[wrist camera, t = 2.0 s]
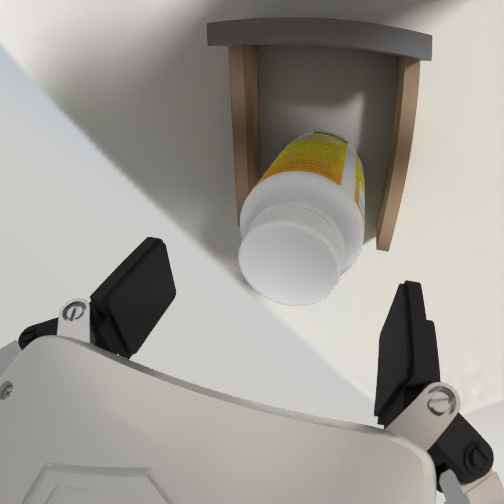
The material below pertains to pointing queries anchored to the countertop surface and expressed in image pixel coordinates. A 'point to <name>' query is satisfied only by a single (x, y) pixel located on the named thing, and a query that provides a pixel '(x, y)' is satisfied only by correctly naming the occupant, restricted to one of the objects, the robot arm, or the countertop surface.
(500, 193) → the countertop surface
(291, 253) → the supplement bottle
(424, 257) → the countertop surface
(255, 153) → the guide track
